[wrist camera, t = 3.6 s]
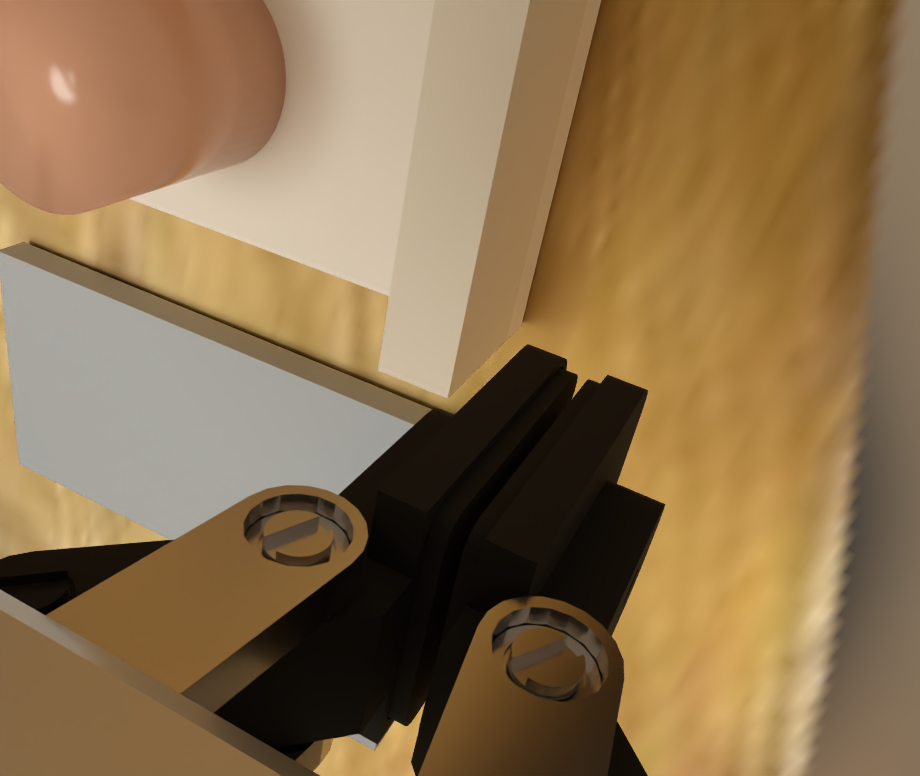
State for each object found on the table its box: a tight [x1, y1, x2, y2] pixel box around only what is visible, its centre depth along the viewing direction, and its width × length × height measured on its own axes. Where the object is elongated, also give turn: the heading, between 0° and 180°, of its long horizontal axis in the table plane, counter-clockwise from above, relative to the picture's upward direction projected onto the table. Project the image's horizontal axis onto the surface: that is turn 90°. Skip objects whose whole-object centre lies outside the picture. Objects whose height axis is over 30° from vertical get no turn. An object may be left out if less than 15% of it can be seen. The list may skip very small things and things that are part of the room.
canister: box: [0, 0, 286, 215], centre depth 23 cm, size 6×6×6 cm
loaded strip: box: [129, 0, 601, 399], centre depth 24 cm, size 10×20×5 cm, turn 78°
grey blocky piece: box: [0, 242, 432, 751], centre depth 31 cm, size 10×20×5 cm, turn 78°
